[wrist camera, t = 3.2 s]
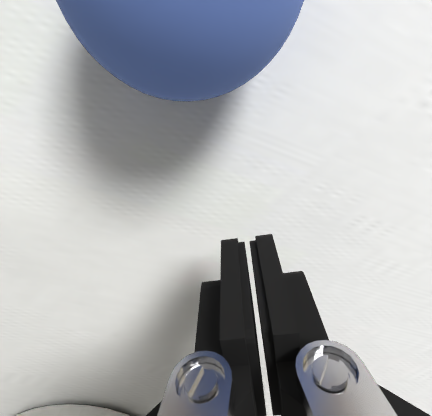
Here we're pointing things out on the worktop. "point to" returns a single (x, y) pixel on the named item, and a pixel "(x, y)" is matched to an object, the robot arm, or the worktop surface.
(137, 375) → the worktop surface
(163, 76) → the ball
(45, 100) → the worktop surface
